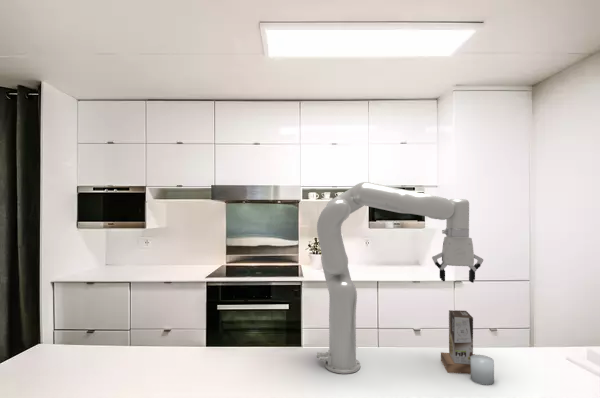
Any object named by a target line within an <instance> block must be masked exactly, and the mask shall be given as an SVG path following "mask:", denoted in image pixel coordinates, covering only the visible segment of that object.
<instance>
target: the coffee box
mask: <svg viewBox="0 0 600 398" xmlns="http://www.w3.org/2000/svg"><path fill="white" fill-rule="evenodd" d="M448 353H449V354H450V356H451V358H452V360H453V361H454V363H459V364H470V365H471V356H472V355H473V354H474V317H473V316H472V315H471V314H470V313H469V312H468V311H467V310H458V309H457V310H451V309H450V310H448Z"/></svg>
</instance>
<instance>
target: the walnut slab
mask: <svg viewBox="0 0 600 398" xmlns="http://www.w3.org/2000/svg"><path fill="white" fill-rule="evenodd" d="M473 355H476V354H475V353H473ZM440 362H441V363H442V365H443V367H444V369H445V371H446V372H447V373H449V374H463V375H464V374H466V375H471V365H470V364H459V363H454V361H453V360H452V358H451V356H450V354H449V352H442V351H441V352H440Z"/></svg>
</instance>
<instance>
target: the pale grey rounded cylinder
mask: <svg viewBox="0 0 600 398" xmlns="http://www.w3.org/2000/svg"><path fill="white" fill-rule="evenodd" d="M470 380H471V381H472V382H473V383H475V384H478V385H482V386H492V385H494V384H495V359H494V358H492V357H491V356H488V355H484V354H475V355H472V356H471V374H470Z"/></svg>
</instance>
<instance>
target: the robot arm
mask: <svg viewBox="0 0 600 398" xmlns="http://www.w3.org/2000/svg"><path fill="white" fill-rule="evenodd" d="M325 205H326V206H325V207H324V208H323V209H322V211H321V212H320V214H319V217H318V219H317V223H316V233H317V238H318V243H319V249H320V253H321V255H320V261H321V267H322V270H323V274H324V277H325V282H326V286H327V287H326V288H327V292H328V293H329V294H328V295H329V297H328V298H329V303H328V304H329V307H328V308H329V309H328V317H329V318H328V323H329V324H328V333H329V334H328V341H329V342H328V343H329V344H328V345H329V346H328V351H326V352H320V351H319V352H318V351H317V353H316V359H319V361H324V366H325V369H327V370H328V371H330V372H332V373H336V374H342V375H343V374H344V375H346V374H352V373H353V374H354V373H356V372H358V371H359V370H360V369H361V362H360V361H359V360H358V359H357V321H356V320H357V302H358V300H357V299H358V292H357V291H358V290H357V288H356V284H355V283H354V281H352V278H351V275H350V269H349V258H348V254H347V252H346V248H345V245H344V240H343V235H342V226H343V223H344V222H345V221H346V220H347V219H348V218H350V217H349V216H350V215H351V214H353V213H355V212H356V211H358V210H360V209H361V208H362V207H368V208H369V207H370V208H375V209H379V210H383V211H384V210H385V211H389V212H394V213H399V214H411V215H416V216H417V215H418V216H423V217H426V218H429V219H433V220H439V221H444V220H446V221H445V223H446V224H445V225H446V226H445V229H442V230H441V233H442V234H443V235H445V236H444V238H443V242H442V243H443V244H442V251H441V252H440V253H438V254H436V255H433V256H432V257H431V259H432V261H433V263H434V265H435V266H436V267H437V268H438V269H439V279H441V280H440V281H442V282H446V270H445V268H446V267H447V266H452V267H468V268H469V270H468V281H469V282H470V283H473V284H474V282H475V280H476V271H477V270H478V269H479V268H480V267H481V266H482V263H483V262H484V258H482V257H480V256H478V255H476V254H475V253H474V243H473V240H472V239H473V238H472V237H470V201H469V200H468V199H466V198H465V199H464V198H451V199H448V198H446V197H441V196H436V195H432V194H426V193H422V192H421V193H420V192H415V191H411V190H408V189H403V188H399V187H398V188H397V187H393V186H390V185H389V186H388V185H385V184H384V185H382V184H379V183H375V182H370V181H362V182H359V183H357V184H355V185H353V186H352V187H350V188H349V189H347V190H346V191H344V192H342V193H341V194H339V195H337V196H335V197H334V198H332V199H331V200H328V202H327V203H326V204H325ZM440 258H441V261H442V262H441V263H440V262H439V261H438V260H439V259H440ZM475 260H476V261H477V262H475Z"/></svg>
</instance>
